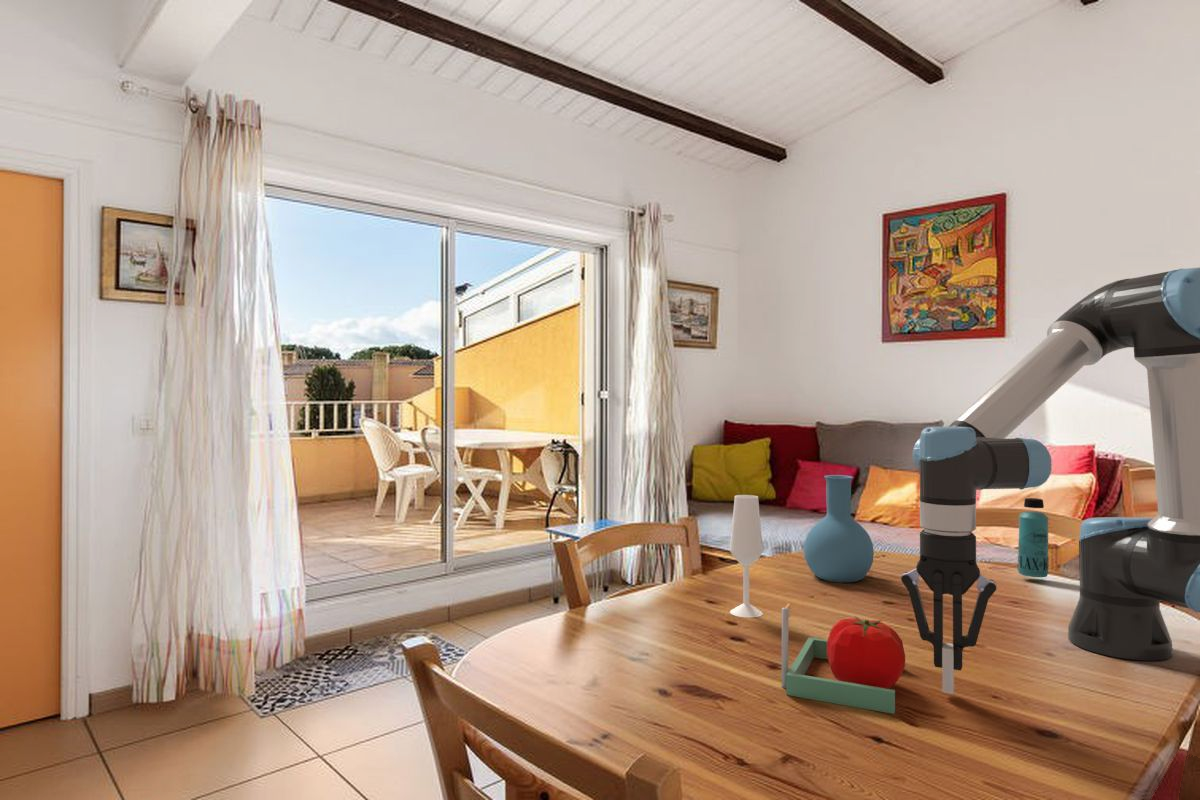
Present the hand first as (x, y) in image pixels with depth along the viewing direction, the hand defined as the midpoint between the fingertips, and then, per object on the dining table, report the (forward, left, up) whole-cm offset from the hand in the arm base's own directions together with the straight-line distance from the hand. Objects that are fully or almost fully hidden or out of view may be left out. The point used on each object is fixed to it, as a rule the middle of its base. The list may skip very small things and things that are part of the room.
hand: (948, 689), depth 108 cm
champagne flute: (+38, -29, -1) cm, 47 cm away
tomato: (+12, +1, -1) cm, 12 cm away
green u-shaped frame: (+15, 0, -1) cm, 15 cm away
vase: (+25, -68, -1) cm, 72 cm away
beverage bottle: (-18, -86, -1) cm, 88 cm away
